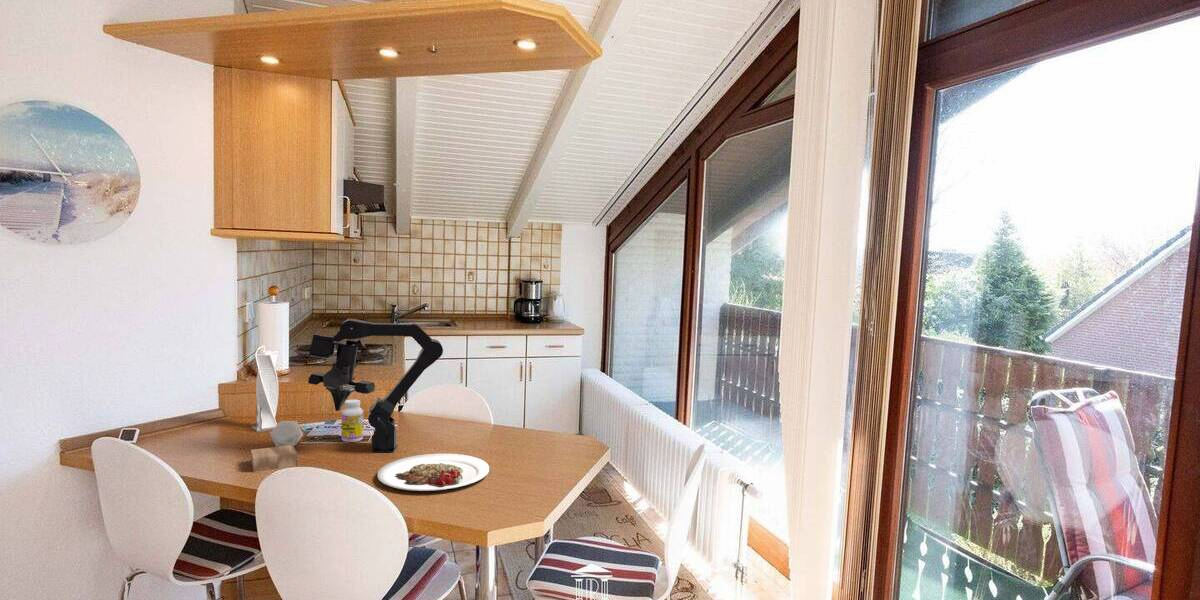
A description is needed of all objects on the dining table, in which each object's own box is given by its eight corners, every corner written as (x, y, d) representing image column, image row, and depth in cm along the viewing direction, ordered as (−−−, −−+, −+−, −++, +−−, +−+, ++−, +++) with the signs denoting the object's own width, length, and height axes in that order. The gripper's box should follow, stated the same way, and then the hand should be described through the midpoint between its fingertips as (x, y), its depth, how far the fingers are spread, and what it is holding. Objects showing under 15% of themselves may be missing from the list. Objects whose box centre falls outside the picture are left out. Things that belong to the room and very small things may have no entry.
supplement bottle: (337, 441, 209) (336, 402, 209) (349, 436, 216) (349, 398, 215) (355, 443, 208) (355, 404, 207) (367, 438, 214) (367, 399, 213)
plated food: (422, 454, 199) (422, 443, 199) (508, 468, 189) (508, 456, 188) (352, 485, 171) (352, 473, 171) (449, 503, 161) (449, 490, 160)
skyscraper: (250, 426, 224) (249, 346, 222) (275, 423, 230) (274, 344, 228) (257, 432, 218) (256, 349, 216) (282, 428, 223) (282, 347, 222)
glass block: (293, 444, 192) (251, 449, 186) (297, 452, 185) (253, 458, 179) (293, 458, 193) (251, 463, 187) (297, 466, 185) (253, 472, 179)
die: (281, 454, 197) (302, 427, 200) (259, 438, 198) (280, 412, 201) (292, 455, 205) (312, 430, 208) (271, 440, 206) (291, 415, 209)
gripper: (302, 357, 189) (294, 410, 190) (363, 368, 188) (355, 421, 189) (321, 354, 200) (313, 403, 201) (379, 364, 199) (371, 414, 200)
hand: (337, 410), depth 197 cm, fingers closed
